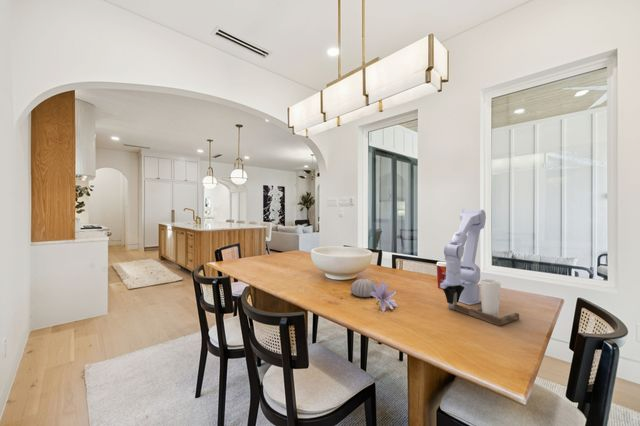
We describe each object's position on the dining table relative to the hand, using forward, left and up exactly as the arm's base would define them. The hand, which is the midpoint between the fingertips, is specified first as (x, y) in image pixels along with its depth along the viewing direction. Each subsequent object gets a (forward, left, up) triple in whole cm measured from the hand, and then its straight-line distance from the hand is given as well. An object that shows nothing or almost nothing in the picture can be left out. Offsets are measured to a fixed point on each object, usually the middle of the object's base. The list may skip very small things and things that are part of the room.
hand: (452, 302), depth 119 cm
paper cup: (-24, -23, -3) cm, 34 cm away
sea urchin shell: (+23, -34, -3) cm, 41 cm away
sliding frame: (-6, +9, -2) cm, 11 cm away
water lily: (+25, -15, -3) cm, 30 cm away
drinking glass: (-3, +14, -3) cm, 15 cm away
